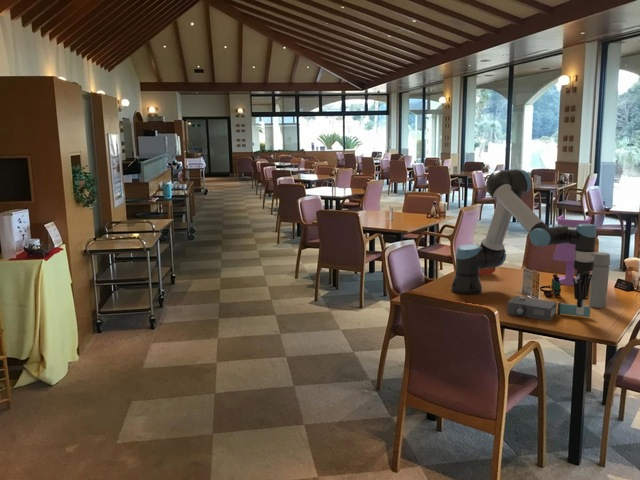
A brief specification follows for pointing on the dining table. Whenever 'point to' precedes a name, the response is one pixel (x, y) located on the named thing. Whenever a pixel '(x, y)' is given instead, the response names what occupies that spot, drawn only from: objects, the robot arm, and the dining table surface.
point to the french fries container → (486, 270)
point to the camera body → (532, 308)
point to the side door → (572, 310)
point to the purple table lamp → (567, 251)
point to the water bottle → (599, 280)
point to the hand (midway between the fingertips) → (579, 313)
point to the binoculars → (553, 288)
